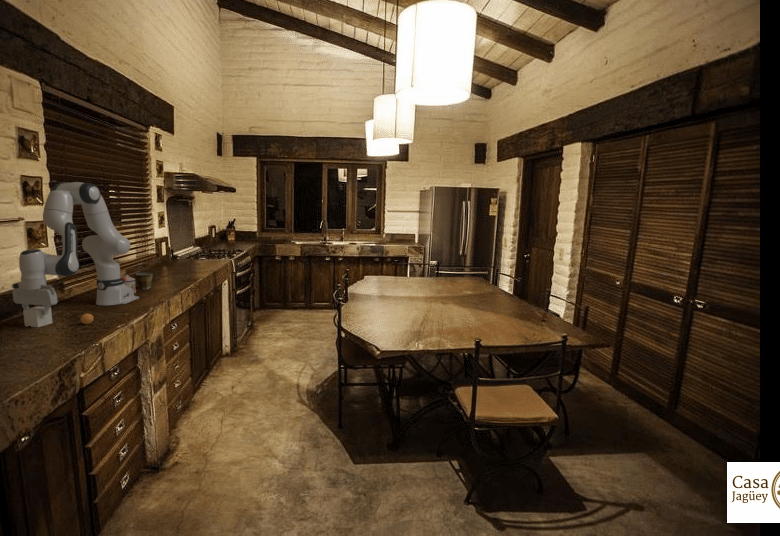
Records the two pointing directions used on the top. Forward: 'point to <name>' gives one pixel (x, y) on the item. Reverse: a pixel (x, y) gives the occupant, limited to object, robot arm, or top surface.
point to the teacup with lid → (130, 283)
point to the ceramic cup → (144, 280)
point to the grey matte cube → (37, 317)
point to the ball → (86, 318)
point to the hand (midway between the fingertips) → (36, 313)
